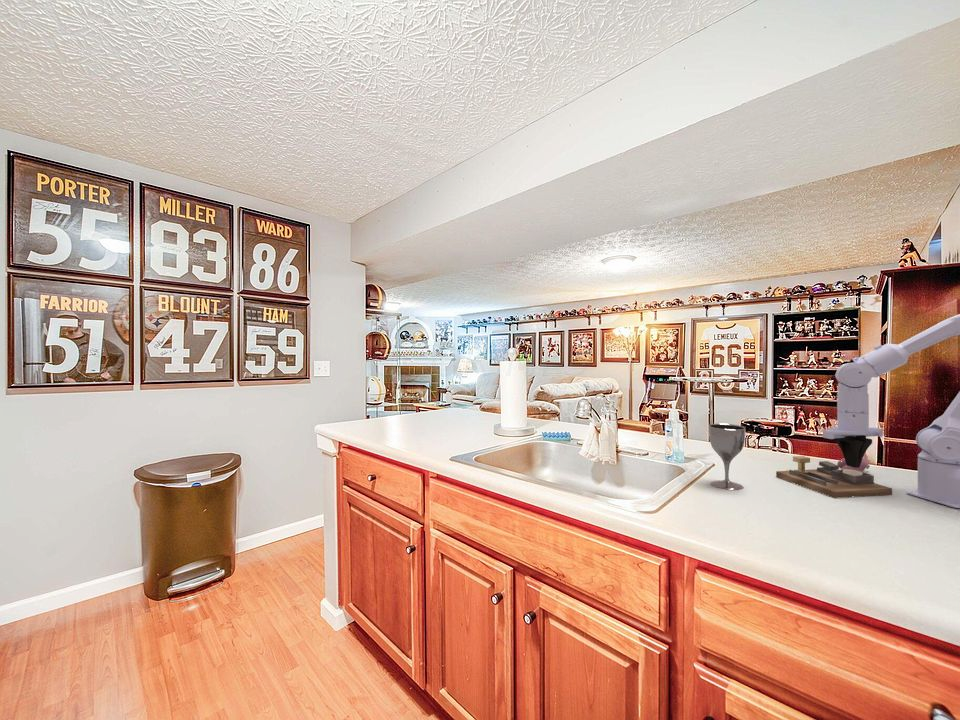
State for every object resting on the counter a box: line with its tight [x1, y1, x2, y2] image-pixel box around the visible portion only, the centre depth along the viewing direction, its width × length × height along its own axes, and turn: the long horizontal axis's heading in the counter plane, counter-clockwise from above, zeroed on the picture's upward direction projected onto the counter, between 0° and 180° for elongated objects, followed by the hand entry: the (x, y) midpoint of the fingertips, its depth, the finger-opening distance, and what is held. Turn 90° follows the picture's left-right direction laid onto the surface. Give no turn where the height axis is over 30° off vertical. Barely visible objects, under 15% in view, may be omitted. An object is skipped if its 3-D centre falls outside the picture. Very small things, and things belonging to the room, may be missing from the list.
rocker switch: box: [818, 460, 840, 470], centre depth 107 cm, size 3×2×1 cm
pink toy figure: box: [836, 453, 871, 472], centre depth 112 cm, size 10×5×7 cm, turn 144°
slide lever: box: [792, 455, 811, 475], centre depth 105 cm, size 2×3×4 cm
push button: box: [843, 469, 863, 476], centre depth 100 cm, size 4×4×2 cm
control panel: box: [775, 466, 893, 499], centre depth 102 cm, size 16×15×4 cm
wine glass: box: [708, 423, 746, 491], centre depth 103 cm, size 8×8×15 cm
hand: (853, 466), depth 100 cm, fingers closed
